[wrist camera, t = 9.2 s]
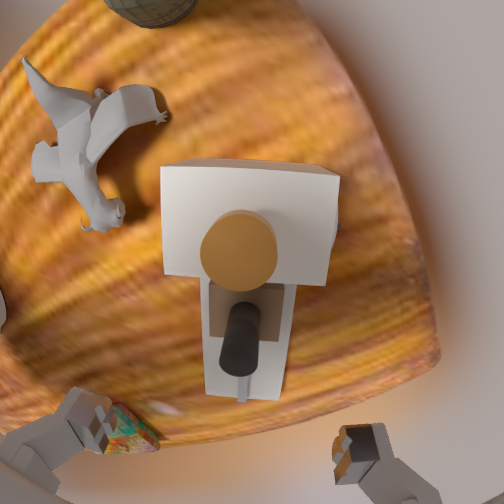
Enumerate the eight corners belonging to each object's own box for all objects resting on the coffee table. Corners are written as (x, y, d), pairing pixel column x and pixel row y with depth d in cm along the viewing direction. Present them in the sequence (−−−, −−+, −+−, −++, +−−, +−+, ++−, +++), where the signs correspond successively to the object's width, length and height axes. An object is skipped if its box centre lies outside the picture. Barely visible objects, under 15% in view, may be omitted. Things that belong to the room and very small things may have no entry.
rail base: (201, 383, 39) (186, 438, 30) (195, 157, 28) (160, 166, 19) (291, 390, 39) (295, 447, 29) (325, 165, 28) (352, 177, 19)
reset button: (207, 272, 18) (200, 288, 16) (207, 207, 17) (199, 216, 15) (273, 277, 18) (274, 294, 16) (279, 212, 16) (281, 221, 15)
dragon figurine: (42, 177, 30) (-5, 202, 22) (72, 61, 24) (22, 56, 15) (136, 217, 33) (103, 256, 25) (183, 93, 27) (155, 89, 18)
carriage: (214, 321, 32) (195, 384, 23) (213, 272, 30) (191, 328, 21) (278, 326, 32) (279, 391, 23) (283, 276, 30) (288, 336, 21)
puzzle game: (157, 454, 41) (94, 456, 46) (163, 434, 46) (101, 441, 50) (111, 415, 38) (55, 423, 42) (120, 395, 42) (64, 408, 47)
